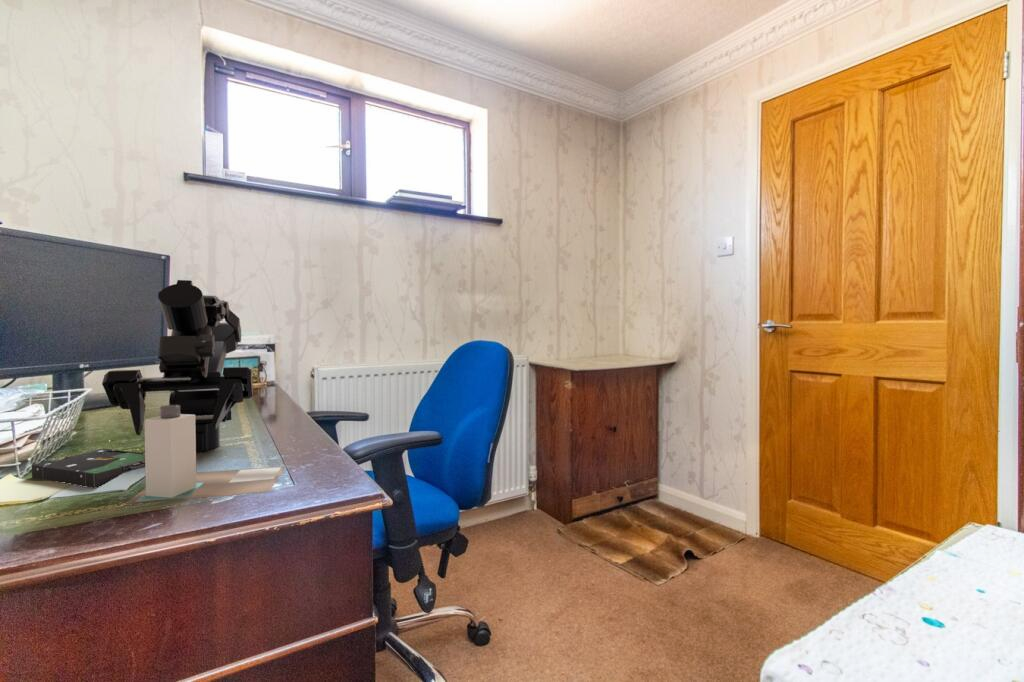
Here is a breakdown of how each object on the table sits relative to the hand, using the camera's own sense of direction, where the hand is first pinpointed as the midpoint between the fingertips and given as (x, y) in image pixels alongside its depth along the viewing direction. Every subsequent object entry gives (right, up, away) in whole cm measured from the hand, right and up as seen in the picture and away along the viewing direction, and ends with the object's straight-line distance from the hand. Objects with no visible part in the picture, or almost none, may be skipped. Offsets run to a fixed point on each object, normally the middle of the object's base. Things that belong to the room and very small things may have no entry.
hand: (177, 430), depth 67 cm
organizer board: (+5, -9, 0) cm, 10 cm away
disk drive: (-19, -9, +8) cm, 22 cm away
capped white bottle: (+2, -8, -3) cm, 9 cm away
